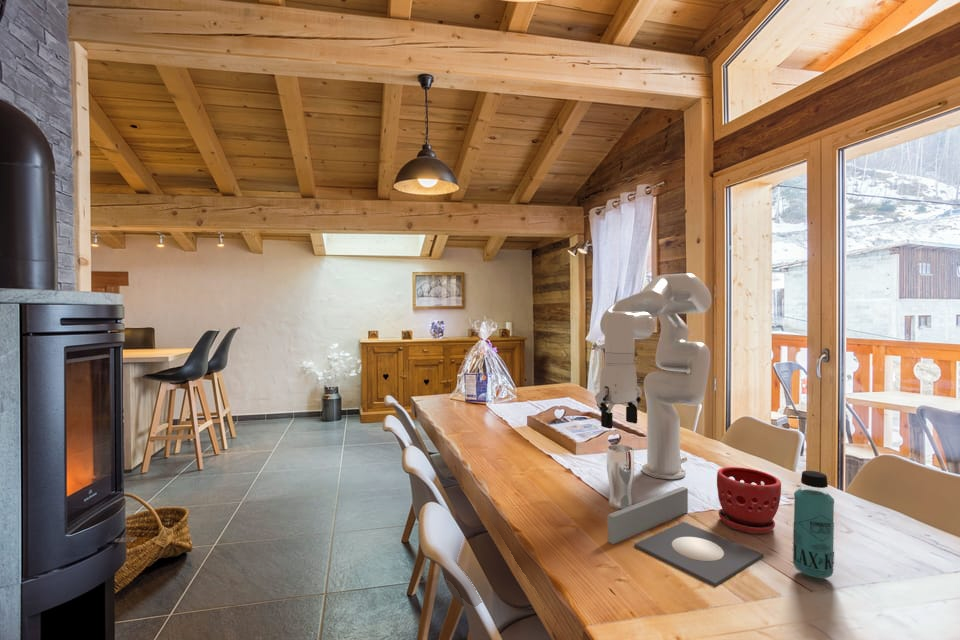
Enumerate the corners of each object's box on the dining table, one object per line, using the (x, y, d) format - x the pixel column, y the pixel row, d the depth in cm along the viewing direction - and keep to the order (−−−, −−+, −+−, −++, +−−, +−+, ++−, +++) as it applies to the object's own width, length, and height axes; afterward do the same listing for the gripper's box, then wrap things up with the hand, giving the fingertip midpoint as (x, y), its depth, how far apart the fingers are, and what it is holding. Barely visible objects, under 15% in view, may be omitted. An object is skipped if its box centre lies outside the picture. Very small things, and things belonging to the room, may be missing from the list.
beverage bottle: (784, 568, 93) (784, 467, 92) (816, 566, 94) (816, 466, 93) (810, 588, 86) (810, 479, 86) (844, 585, 87) (844, 478, 87)
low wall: (682, 510, 120) (682, 486, 120) (687, 512, 119) (687, 488, 119) (607, 541, 105) (607, 514, 104) (613, 544, 103) (613, 517, 103)
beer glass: (636, 511, 120) (635, 452, 119) (607, 509, 121) (607, 451, 121) (632, 500, 127) (632, 444, 126) (606, 498, 128) (605, 443, 128)
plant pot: (758, 543, 103) (758, 489, 102) (705, 520, 114) (704, 471, 114) (793, 530, 109) (793, 478, 109) (739, 509, 120) (739, 462, 120)
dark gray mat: (683, 524, 112) (683, 521, 112) (763, 556, 97) (763, 553, 97) (634, 546, 102) (634, 543, 102) (715, 586, 87) (715, 582, 87)
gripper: (629, 356, 131) (629, 418, 131) (585, 360, 121) (585, 426, 121) (652, 358, 125) (652, 423, 125) (608, 362, 115) (608, 432, 115)
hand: (619, 425), depth 123 cm, fingers open, 9 cm apart
